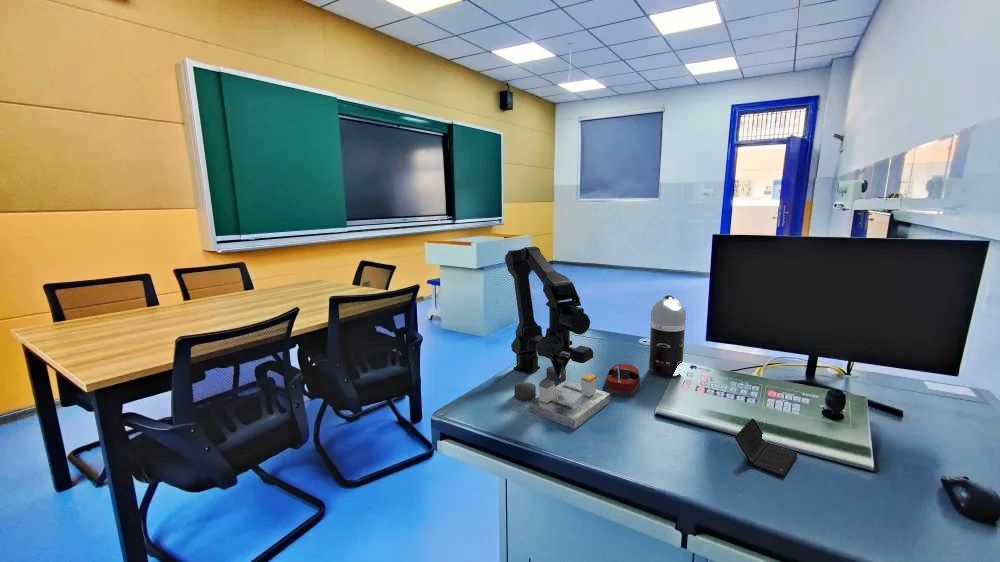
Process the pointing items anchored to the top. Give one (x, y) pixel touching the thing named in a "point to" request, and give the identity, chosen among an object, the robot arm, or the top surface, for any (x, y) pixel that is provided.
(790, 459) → the handheld gaming console
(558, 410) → the panel
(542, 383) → the switch
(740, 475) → the top surface
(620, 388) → the bumper car
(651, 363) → the spray bottle
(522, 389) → the coil
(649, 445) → the top surface
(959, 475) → the top surface
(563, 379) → the coil
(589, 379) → the switch
